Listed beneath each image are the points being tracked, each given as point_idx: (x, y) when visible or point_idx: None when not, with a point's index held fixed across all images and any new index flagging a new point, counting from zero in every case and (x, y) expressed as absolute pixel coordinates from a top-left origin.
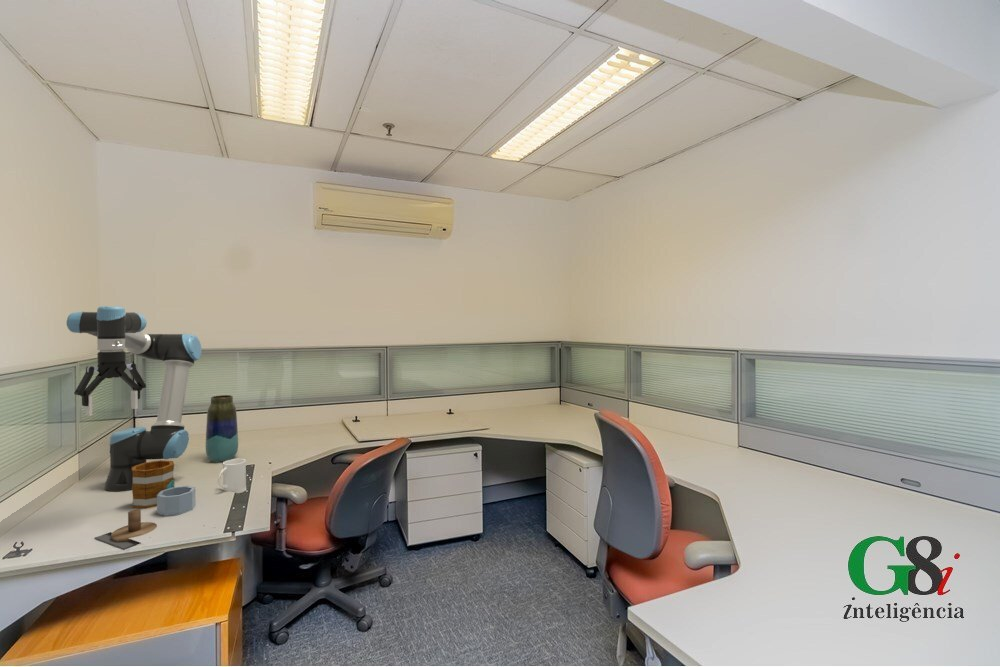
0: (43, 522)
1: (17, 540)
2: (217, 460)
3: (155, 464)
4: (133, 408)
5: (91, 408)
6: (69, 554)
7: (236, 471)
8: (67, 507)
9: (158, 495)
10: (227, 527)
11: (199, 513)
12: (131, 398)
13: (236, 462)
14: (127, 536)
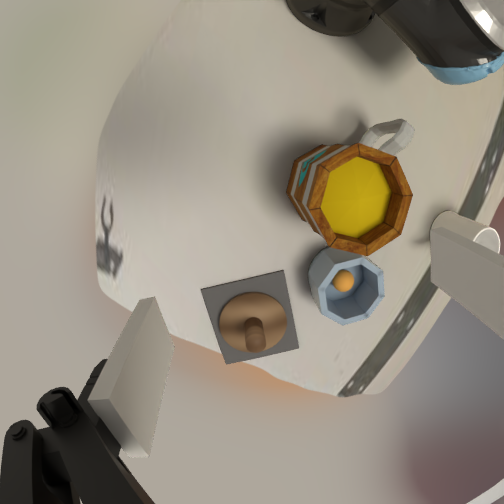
0: (147, 115)
1: (105, 190)
2: None
3: (378, 162)
4: (432, 259)
5: (162, 381)
6: None
7: None
8: (199, 49)
9: (319, 292)
10: (350, 383)
11: None
12: (478, 261)
13: (490, 231)
14: (237, 344)
